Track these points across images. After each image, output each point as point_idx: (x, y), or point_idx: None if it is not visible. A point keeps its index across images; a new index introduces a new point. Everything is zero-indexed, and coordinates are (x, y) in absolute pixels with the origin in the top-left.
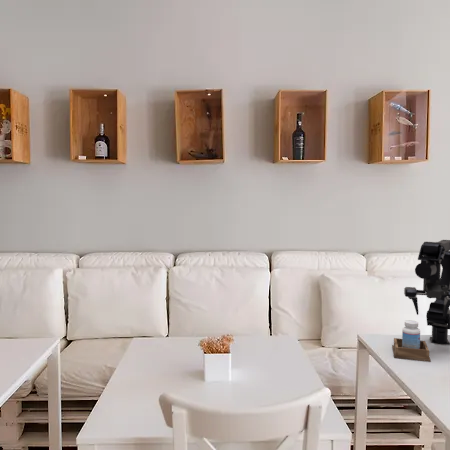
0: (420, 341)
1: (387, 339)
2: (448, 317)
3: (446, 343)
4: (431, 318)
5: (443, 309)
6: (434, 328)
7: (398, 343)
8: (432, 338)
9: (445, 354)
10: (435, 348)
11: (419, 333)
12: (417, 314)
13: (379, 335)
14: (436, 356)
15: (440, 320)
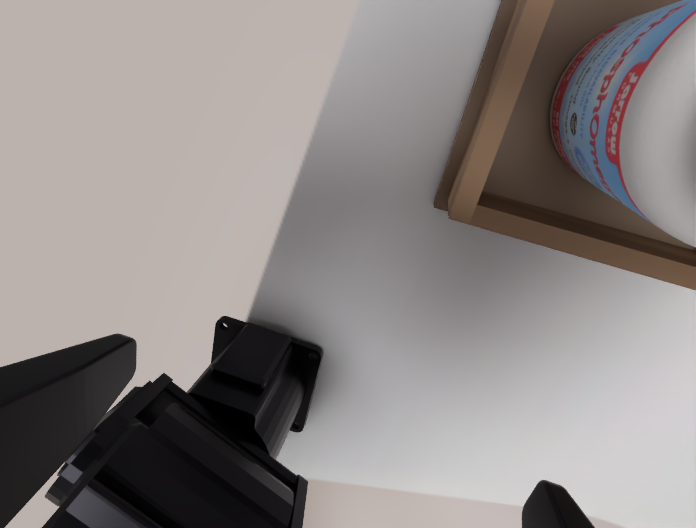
0: (500, 210)
1: (621, 435)
2: (92, 445)
3: (237, 322)
4: (267, 500)
5: (41, 484)
6: (268, 430)
7: (688, 256)
8: (303, 388)
9: (317, 119)
10: (341, 248)
11: (689, 19)
12: (558, 487)
13: (634, 508)
14: (410, 62)
15: (194, 441)
